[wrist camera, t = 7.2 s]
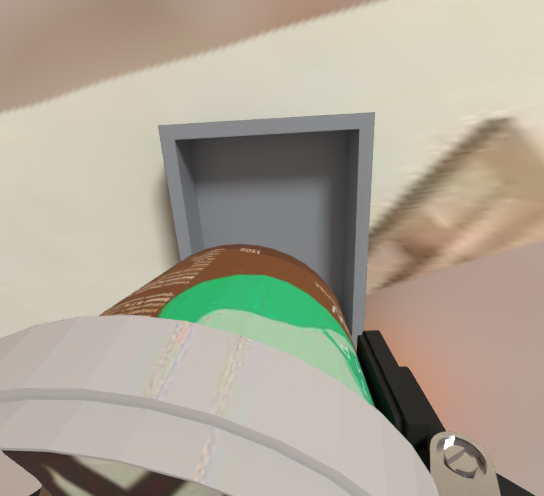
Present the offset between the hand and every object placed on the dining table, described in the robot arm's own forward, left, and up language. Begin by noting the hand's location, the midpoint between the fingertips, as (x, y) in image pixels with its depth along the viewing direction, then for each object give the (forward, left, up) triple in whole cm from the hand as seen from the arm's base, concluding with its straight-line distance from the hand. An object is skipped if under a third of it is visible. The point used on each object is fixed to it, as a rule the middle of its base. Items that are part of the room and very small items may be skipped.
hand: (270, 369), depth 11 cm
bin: (0, 0, -19) cm, 19 cm away
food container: (-1, 0, -3) cm, 4 cm away
